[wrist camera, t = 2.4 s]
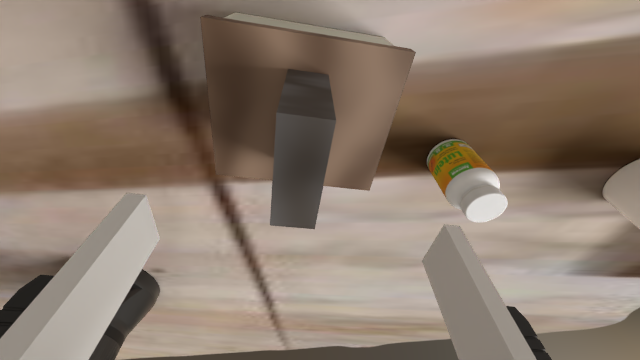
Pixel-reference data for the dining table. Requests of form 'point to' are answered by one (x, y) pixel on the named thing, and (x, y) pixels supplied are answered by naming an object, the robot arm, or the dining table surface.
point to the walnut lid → (299, 109)
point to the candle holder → (625, 192)
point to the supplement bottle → (466, 180)
